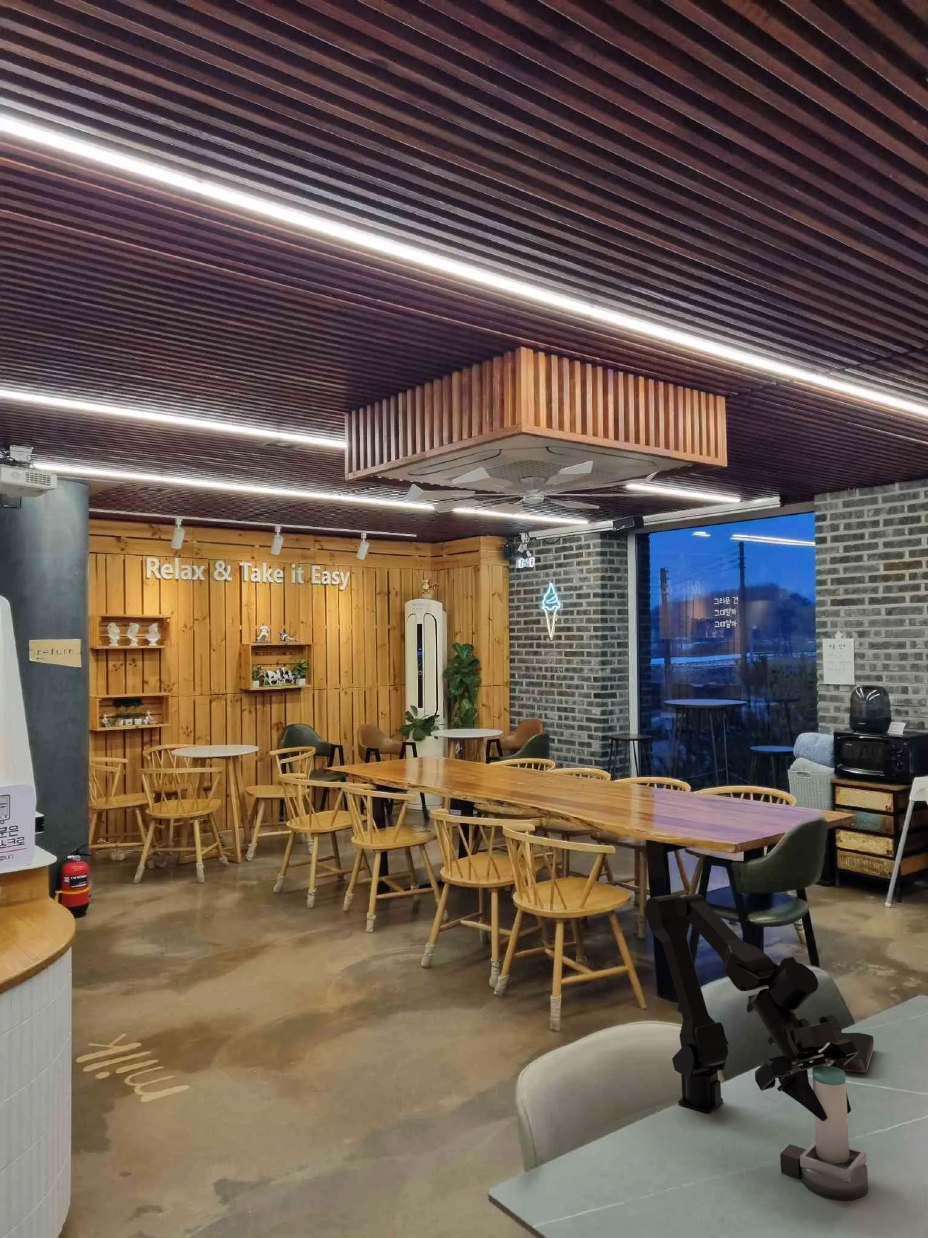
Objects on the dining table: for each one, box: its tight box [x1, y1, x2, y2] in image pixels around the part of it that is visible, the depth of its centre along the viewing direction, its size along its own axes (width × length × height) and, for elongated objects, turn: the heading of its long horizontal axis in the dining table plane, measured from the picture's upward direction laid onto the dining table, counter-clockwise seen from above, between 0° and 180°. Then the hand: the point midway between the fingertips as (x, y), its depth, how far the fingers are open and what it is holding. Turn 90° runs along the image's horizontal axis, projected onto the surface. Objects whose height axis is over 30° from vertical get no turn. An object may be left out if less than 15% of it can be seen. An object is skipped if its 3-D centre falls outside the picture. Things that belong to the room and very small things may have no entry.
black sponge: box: [829, 1032, 875, 1073], centre depth 196 cm, size 16×8×4 cm, turn 150°
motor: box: [779, 1139, 869, 1202], centre depth 149 cm, size 13×10×4 cm
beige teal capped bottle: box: [811, 1066, 850, 1163], centre depth 149 cm, size 5×5×13 cm
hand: (837, 1116), depth 148 cm, fingers closed on beige teal capped bottle, 5 cm apart
